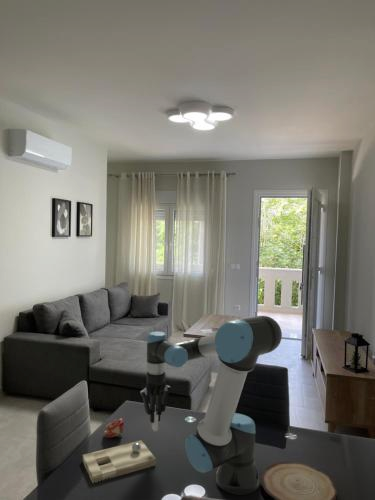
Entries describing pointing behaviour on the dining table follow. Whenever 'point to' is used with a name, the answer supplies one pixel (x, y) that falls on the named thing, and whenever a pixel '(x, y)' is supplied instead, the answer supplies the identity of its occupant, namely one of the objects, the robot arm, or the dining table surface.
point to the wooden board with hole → (117, 461)
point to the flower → (114, 428)
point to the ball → (136, 447)
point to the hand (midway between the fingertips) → (154, 429)
